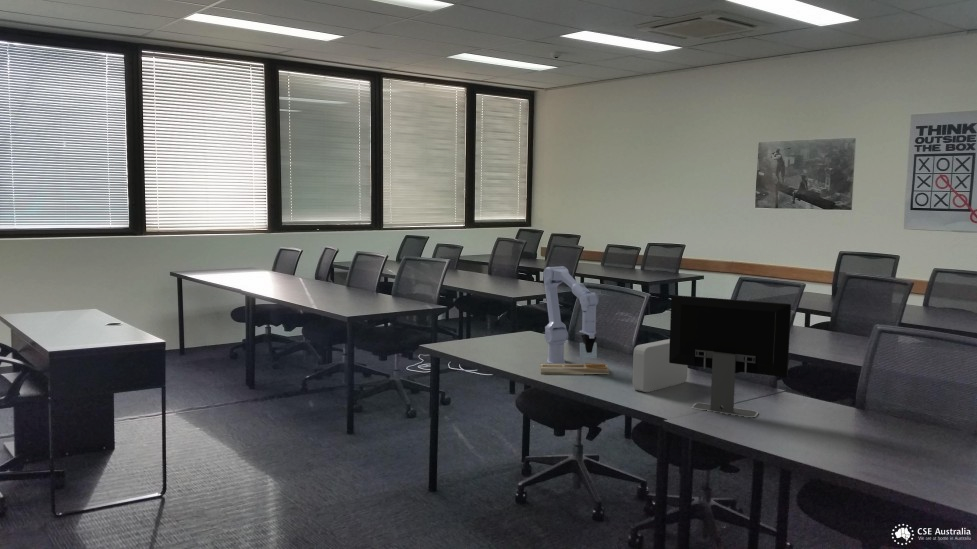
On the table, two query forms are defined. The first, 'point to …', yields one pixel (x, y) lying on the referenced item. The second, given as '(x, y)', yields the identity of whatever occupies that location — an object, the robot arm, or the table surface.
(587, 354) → the brushed gray metal block
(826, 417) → the table surface
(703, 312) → the computer monitor
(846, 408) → the table surface
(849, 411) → the table surface
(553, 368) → the rack
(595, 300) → the robot arm
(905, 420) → the table surface
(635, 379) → the rounded white slab
